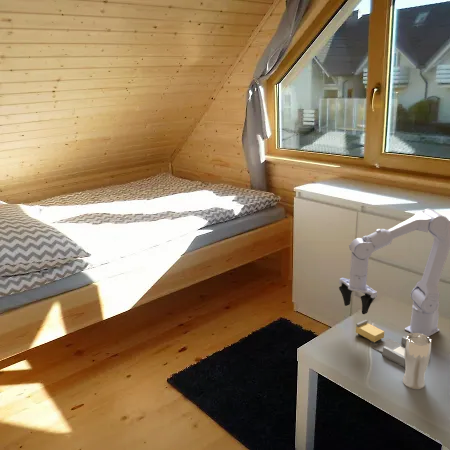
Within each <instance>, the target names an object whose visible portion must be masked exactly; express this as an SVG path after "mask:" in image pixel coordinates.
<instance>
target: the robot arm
mask: <svg viewBox="0 0 450 450" xmlns="http://www.w3.org/2000/svg"><path fill="white" fill-rule="evenodd" d="M414 231H419V232H423V233H430V235H431V236H432V237H433V242H432V245H431V248H430V252H429V254H428V258H427V261H426V264H425V267H424V270H423V273H422V277H421V280H419V281H417V282H416V284H415V286H414V287H413V289H412V290H411V291H410V298H411V300H412V308H411V318H410V322H409V323H410V325H408V326H406V327H405V328H404V330H405V331H407V332H409V333H410V334H411V333H420V334H424V335H426V336H428V337H429V338H430V336H432V335H434V334H436V333H437V332H440V328H438V325H439V318H440V317H439V316H440V312H439V308H440V289H439V287H438V285H439V282H440V281H441V277H442V273H443V271H444V267H445V264H446V261H447V258H448V255H449V253H450V220H449V218H447V217H446V216H444V215H442V214H440V213H439V212H437V211H436V210H434V209H432V208H426V209H423V210H422V211H417V212H416V213H415V214H413V216H412V217H409V218H407V219H406V220H404V221H402V222H400V223H398V224H397V225H394V226H392V227H391V228H388V229H385V228H377V229H375V231H374V232H372V233H370V234H368V235H364V236H362V237H357V238H355V239H353V240H351V242H350V244H349V245H348V247H349V250H350V251H351V253H350V254H351V257H350V258H351V259H350V266H349V267H350V268H349V278H345V277H341V278H339V281H338V284H339V285H340V286H339V287H338V289H339V291H340V293H341V295H342V296H341V297H342V299H343V302H344V306H345V307H346V306H347V307H348V306H350V305H351V301H352V292H353V291H355V292H359V293H362V294H364V295H362V296H360V301H361V315H366V314H367V313H368V312H369V309H370V307H371V305H372V303H373V302H374V300H375V299H376V298H377V297H378V291H377V290H374V289H373V288H372V287H371V286H369V285H368V284H367V282H368V270H369V258H370V257H371V256H372V255H373V253H374V252H377V251H379V250H380V249H383V248H385V247H387V246H389V245H391V244H392V242H393V240H394V239H396V238H399V237H402V236H404V235H407V234H410V233H412V232H414Z"/></svg>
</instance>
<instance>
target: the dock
mask: <svg viewBox="0 0 450 450" xmlns="http://www.w3.org/2000/svg"><path fill="white" fill-rule="evenodd" d="M406 340H407V336H405V335H403V336H402V337H401V342H398V341H395V340H393V339H390V338H387V339H386V340H383V341H381V342H379V343H378V344H376V345H373V346H372V347H371V349H374V350H375V351H377V352H378V353H381V354H382V356H383V357H384V358H386V359H388V360H389V361H392V362H394V363H395V364H398V365H399V366H401V367H402V368H404V369H405V355H404V352H405V344H406Z"/></svg>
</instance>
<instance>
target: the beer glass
mask: <svg viewBox="0 0 450 450" xmlns="http://www.w3.org/2000/svg"><path fill="white" fill-rule="evenodd" d="M406 338H407V340H406V344H405V352H404V355H405V368H404V370H405V371H404V374H403V378H402V383H403V384H404V385H405V386H406V387H407V388H409V389H412V390H422V389H424V387H425V385H426V382H425V381H426V380H425V374H426V371H427V368H428V366H429V363H430V360H431V359H430V358H431V352H432V339H431V338H430V336H429V337H428V336H426V335H424V334H420V333H411V332H410V333H409V334H407V336H406Z"/></svg>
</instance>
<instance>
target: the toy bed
mask: <svg viewBox="0 0 450 450" xmlns="http://www.w3.org/2000/svg"><path fill="white" fill-rule="evenodd" d="M368 322H369V321H368V319H364V320H361V321H359V322H357V323H356V325H355V333H356V334H357V336H358V337H360V336H362V337H364V338H366V339H368V340H369V341H370V343H371V344H374V343H376V342H378V341H380V340H381V339H384V337H385V330H382V329H381V328H378V327H376V326H375V325H372V324H370V323H368Z"/></svg>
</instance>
